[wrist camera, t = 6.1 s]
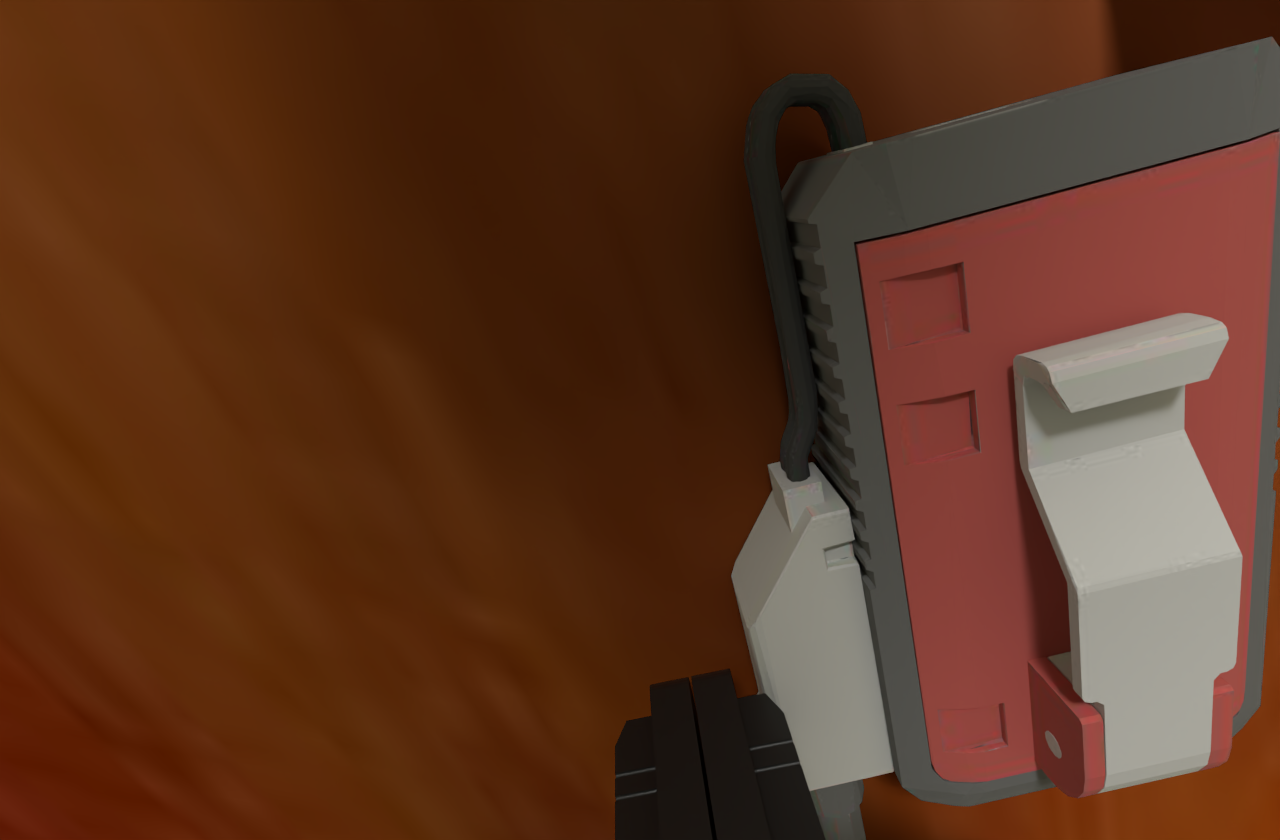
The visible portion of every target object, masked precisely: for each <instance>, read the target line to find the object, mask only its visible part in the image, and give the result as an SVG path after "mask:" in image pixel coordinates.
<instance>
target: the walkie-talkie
mask: <svg viewBox="0 0 1280 840" xmlns="http://www.w3.org/2000/svg"><path fill="white" fill-rule="evenodd" d="M790 106H809V107H810V108H812V109H814V110H816V111H817V112H818V113H819V115H820V117H821V119H822V121H823V123H824V125H825V127H826V130H827V133H828V137H829V141H830V145H831V149H832V152H829V153H827V155H823V156H820V157H816V158H813V159H809V160H805V161H802V162H798V163H797V165H796V167H795V169H794V170H793V172H792V174H791V175H790V177H789V179H788V181H787V182H786V184H785V186H784V188H783V189H782V191H781V188H780V183H779V177H778V171H777V166H776V149H775V144H776V134H777V129H778V124H779V121H780V119H781V117H782V115H783V113H784V111H785V109H786V108H788V107H790ZM744 164H745V170H746V175H747V180H748V185H749V190H750V195H751V201H752V206H753V211H754V216H755V221H756V226H757V231H758V237H759V242H760V247H761V252H762V257H763V262H764V267H765V273H766V278H767V283H768V288H769V293H770V298H771V303H772V309H773V314H774V319H775V324H776V329H777V334H778V340H779V345H780V350H781V356H782V362H783V369H784V375H785V381H786V388H787V394H788V400H789V418H788V422H787V425H786V428H785V431H784V434H783V437H782V440H781V450H780V462H776V463H772V464H768V469H769V474H770V479H771V484H772V488H773V489H772V491H771V493H770V495H769V497H768V499H767V501H766V503H765V505H764V507H763V509H762V511H761V513H760V515H759V517H758V519H757V521H756V523H755V524H754V526H753V528H752V530H751V532H750V534H749V536H748V538H747V540H746V542H745V544H744V546H743V548H742V550H741V552H740V554H739V556H738V558H737V559H736V561H735V564H734V568H733V571H732V575H731V577H732V581H733V585H734V590H735V594H736V598H737V602H738V606H739V611H740V615H741V619H742V623H743V627H744V631H745V636H746V640H747V644H748V648H749V652H750V657H751V661H752V665H753V669H754V673H755V678H756V682H757V686H758V690H759V691H758V693H757V694H762V693H766V694H767V695H768V697H769V698H770V699H771V700H772V701H773V702H774V703H775V704H776V705H777V706H778V707H779V708H780V709H781V710H782V711H783V712H784V715H785V718H786V721H787V724H788V727H789V730H790V733H791V736H792V739H793V743H794V745H795V748H796V751H797V754H798V757H799V761H800V764H801V766H802V769H803V772H804V775H805V778H806V782H807V785H808V788H809V791H810V794H811V797H812V800H813V803H814V806H815V809H816V812H817V815H818V818H819V821H820V824H821V827H822V830H823V833H824V836H825V839H826V840H866V836H865V831H864V827H863V822H862V817H861V812H860V807H859V805H860V804H861V802H862V798H863V791H864V785H863V780H862V779H865V778H869V777H874V776H878V775H883V774H887V773H892V772H893V771H895V773H896V775H897V777H898V779H899V781H900V783H901V785H902V787H903V788H904V789H906V790H907V791H909V792H910V793H911V794H913V795H914V796H916V797H917V798H919V799H920V800H922V801H928V802H934V803H941V804H947V805H954V806H973V805H977V804H982V803H986V802H991V801H995V800H1000V799H1004V798H1008V797H1013V796H1017V795H1022V794H1026V793H1030V792H1035V791H1039V790H1044V789H1048V788H1052V787H1057V788H1059V789H1060V790H1061V791H1063V792H1064V793H1065V794H1066V795H1068V796H1071V797H1075V798H1080V797H1084V796H1089V795H1093V794H1097V793H1102V792H1106V791H1111V790H1115V789H1120V788H1124V787H1129V786H1133V785H1138V784H1142V783H1146V782H1151V781H1155V780H1160V779H1164V778H1169V777H1173V776H1178V775H1182V774H1187V773H1191V772H1195V771H1200V770H1205V769H1209V768H1213V767H1218V766H1220V765H1221V764H1223V763H1224V762H1226V761H1227V760H1228V757H1229V754H1230V751H1231V747H1232V737H1233V736H1234V735H1235V734H1236V733H1237V732H1238V731H1239V730H1240V729H1242V728H1243V726H1244V725H1245V724H1246V723H1247V721H1248V720H1249V719H1250V718H1251V716H1252V715H1253V714H1254V713H1255V711H1256V710H1257V709H1258V708H1259V707H1260V704H1261V690H1262V676H1263V663H1264V649H1265V635H1266V621H1267V607H1268V594H1269V580H1270V566H1271V552H1272V538H1273V525H1274V511H1275V497H1276V491H1274V490H1273V476H1274V473H1275V472H1276V470H1277V466H1278V460H1276V459H1275V443H1276V441H1277V440H1278V439H1279V437H1280V428H1278V427H1277V420H1278V409H1279V407H1280V394H1279V390H1280V47H1279V46H1278V44H1277V43H1276V41H1275V40H1274V39H1273V37H1268V38H1264V39H1260V40H1256V41H1252V42H1248V43H1244V44H1240V45H1236V46H1232V47H1228V48H1223V49H1219V50H1215V51H1211V52H1207V53H1203V54H1199V55H1195V56H1191V57H1187V58H1183V59H1179V60H1175V61H1171V62H1166V63H1162V64H1158V65H1154V66H1150V67H1146V68H1142V69H1138V70H1134V71H1130V72H1126V73H1122V74H1118V75H1114V76H1111V77H1107V78H1103V79H1100V80H1096V81H1093V82H1089V83H1085V84H1082V85H1078V86H1074V87H1071V88H1067V89H1063V90H1060V91H1056V92H1053V93H1049V94H1045V95H1042V96H1038V97H1034V98H1031V99H1027V100H1023V101H1020V102H1016V103H1013V104H1009V105H1005V106H1002V107H998V108H994V109H991V110H987V111H983V112H980V113H976V114H973V115H969V116H965V117H962V118H958V119H954V120H951V121H947V122H943V123H940V124H936V125H933V126H929V127H925V128H922V129H918V130H914V131H911V132H907V133H903V134H900V135H896V136H893V137H889V138H885V139H882V140H878V141H874V142H869V143H867V141H866V136H865V132H864V127H863V122H862V117H861V112H860V110H859V109H858V107H857V105H856V103H855V101H854V99H853V98H852V96H851V94H850V92H849V90H848V89H847V88H845V87H844V86H843V85H842V84H840V83H839V82H838V81H837V80H836V79H834V78H833V77H832V76H831V75H829V74H789V75H787V76H786V77H784V78H782V79H781V80H779V81H777V82H776V83H774V84H772V85H771V86H770V87H769V88H767V89H765V90H764V91H763V93H762V94H761V96H760V97H759V98H758V100H757V101H756V102H755V104H754V105H753V107H752V110H751V112H750V115H749V118H748V121H747V125H746V135H745V149H744ZM814 438H815V443H816V444H814V445H812V444H813V441H814ZM811 449H812V454H813V456H814V457H815V458H816V459H817V461H818V462H819V465H820V470H819V469H818V467H817V466H816V465H815V464H814V463H813V462H811V463H808V456H809V453H810V450H811Z"/></svg>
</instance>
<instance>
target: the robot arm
mask: <svg viewBox="0 0 1280 840" xmlns="http://www.w3.org/2000/svg"><path fill="white" fill-rule="evenodd" d="M691 678H692V685H693V691H694V697H695V702H694V697H693V693H692V689H691V685H690V681H689V678H688V677H686V678H681V679H676V680H671V681H666V682H661V683H656V684H652V685H650V701H651V715H652V716H649V717H644V718H639V719H634V720H629V721H626V723H625V726H624V728H623V730H622V732H621V735H620V737H619V739H618V741H617V744H616V746H615V775H616V779H615V797H616V802H615V840H826V839H825V836H824V833H823V830H822V827H821V824H820V821H819V818H818V815H817V812H816V809H815V806H814V803H813V800H812V797H811V794H810V791H809V788H808V785H807V782H806V778H805V775H804V772H803V769H802V766H801V764H800V761H799V757H798V754H797V751H796V748H795V745H794V743H793V739H792V736H791V733H790V730H789V727H788V724H787V721H786V718H785V715H784V712H783V711H782V710H781V709H780V708H779V707H778V706H777V705H776V704H775V703H774V702H773V701H772V700H771V699H770V698H769V697H768V695H767V694H766V693H762V694H757V695H752V696H747V697H742V698H737V697H736V693H735V689H734V684H733V680H732V676H731V672H730V669H725V670H720V671H715V672H710V673H705V674H700V675H695V676H691ZM695 704H696V706H695Z"/></svg>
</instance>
